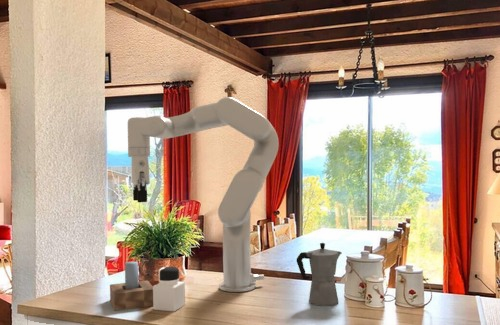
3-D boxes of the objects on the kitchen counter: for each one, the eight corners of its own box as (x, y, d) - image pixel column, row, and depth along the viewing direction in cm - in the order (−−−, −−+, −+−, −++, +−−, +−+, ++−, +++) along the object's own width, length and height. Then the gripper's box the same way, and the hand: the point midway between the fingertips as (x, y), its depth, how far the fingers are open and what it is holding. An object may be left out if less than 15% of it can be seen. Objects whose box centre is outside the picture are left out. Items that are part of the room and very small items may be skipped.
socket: (147, 295, 157) (147, 280, 157) (155, 305, 146) (154, 289, 146) (110, 300, 153) (109, 284, 153) (114, 310, 142) (114, 293, 142)
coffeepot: (334, 295, 153) (333, 239, 153) (350, 303, 145) (349, 243, 145) (291, 300, 148) (289, 242, 148) (304, 309, 139) (303, 247, 139)
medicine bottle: (185, 304, 146) (184, 265, 146) (174, 312, 139) (173, 270, 139) (164, 303, 148) (164, 264, 148) (152, 310, 142) (152, 269, 142)
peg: (137, 298, 152) (137, 260, 152) (139, 302, 148) (139, 263, 148) (124, 300, 151) (124, 262, 150) (126, 303, 147) (126, 264, 147)
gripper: (154, 151, 162) (155, 202, 162) (145, 153, 178) (146, 199, 178) (131, 152, 159) (132, 203, 159) (124, 153, 175) (125, 200, 175)
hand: (140, 201), depth 168 cm, fingers open, 9 cm apart
